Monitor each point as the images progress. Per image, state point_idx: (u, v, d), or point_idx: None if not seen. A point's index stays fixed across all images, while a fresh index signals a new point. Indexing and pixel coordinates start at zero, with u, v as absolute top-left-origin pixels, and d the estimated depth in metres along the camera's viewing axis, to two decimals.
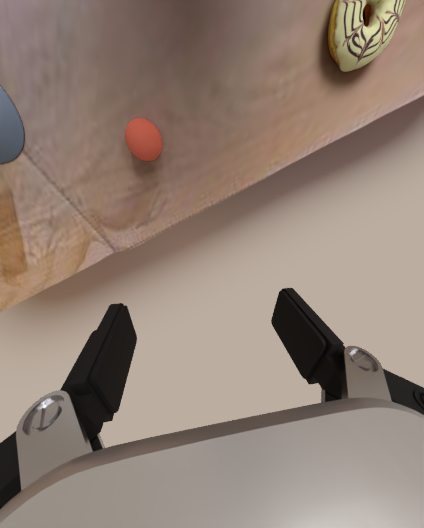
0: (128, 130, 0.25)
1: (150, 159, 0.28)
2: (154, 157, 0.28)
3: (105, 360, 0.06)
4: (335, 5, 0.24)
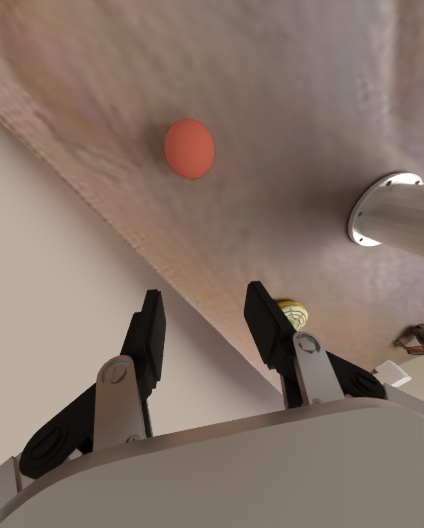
0: (197, 127, 0.16)
1: (167, 160, 0.18)
2: (171, 167, 0.19)
3: (153, 333, 0.08)
4: (288, 303, 0.36)
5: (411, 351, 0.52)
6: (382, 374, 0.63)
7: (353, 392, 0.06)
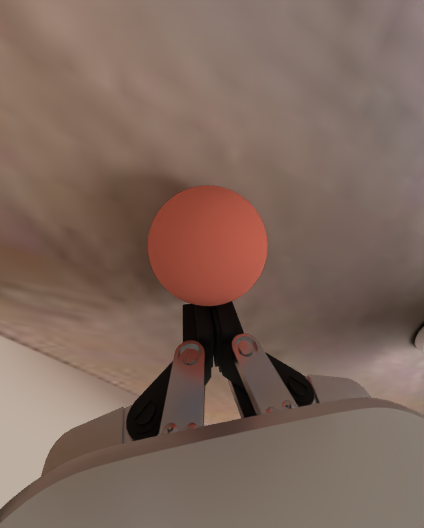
0: None
1: (150, 255, 0.07)
2: (156, 267, 0.07)
3: (211, 322, 0.08)
4: None
5: None
6: None
7: None
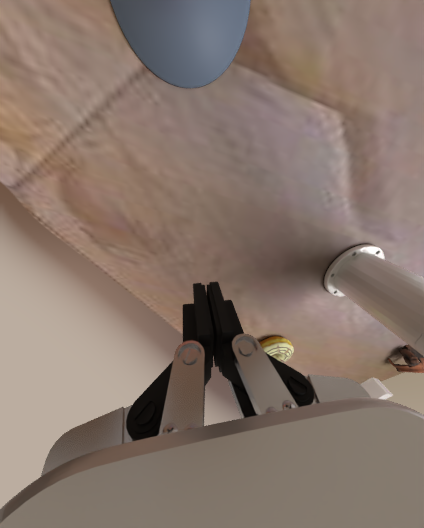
0: None
1: None
2: None
3: (210, 322, 0.08)
4: (276, 340, 0.42)
5: (399, 369, 0.59)
6: (366, 390, 0.69)
7: None
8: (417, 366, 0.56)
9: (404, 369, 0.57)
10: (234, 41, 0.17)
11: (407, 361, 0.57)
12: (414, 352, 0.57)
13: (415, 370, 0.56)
